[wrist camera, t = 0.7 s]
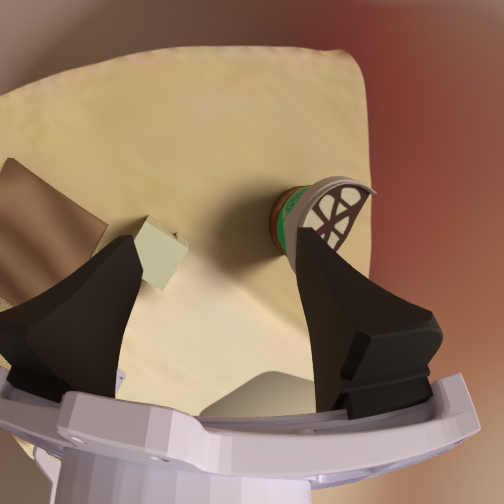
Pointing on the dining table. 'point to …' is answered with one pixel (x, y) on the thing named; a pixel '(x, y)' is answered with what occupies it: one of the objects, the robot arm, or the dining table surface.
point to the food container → (317, 212)
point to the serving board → (40, 234)
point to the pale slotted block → (159, 252)
